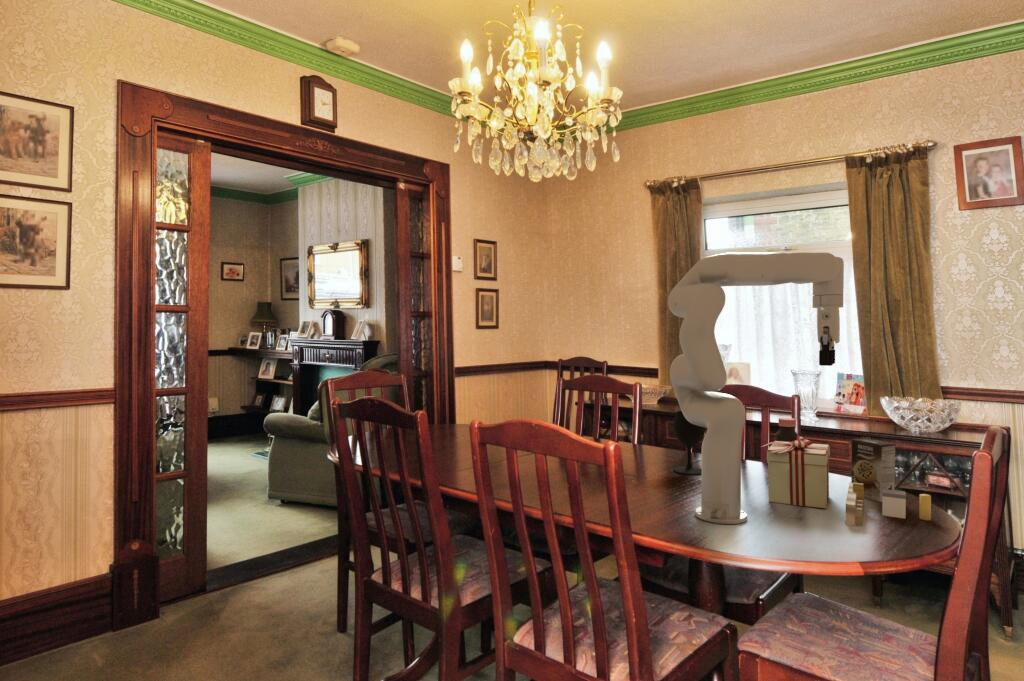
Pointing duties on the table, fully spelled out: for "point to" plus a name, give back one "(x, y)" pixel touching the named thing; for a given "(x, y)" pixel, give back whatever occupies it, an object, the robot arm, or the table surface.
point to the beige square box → (894, 503)
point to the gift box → (798, 473)
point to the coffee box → (873, 466)
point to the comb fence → (854, 504)
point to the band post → (925, 507)
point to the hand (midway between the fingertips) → (827, 364)
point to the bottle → (786, 430)
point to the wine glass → (687, 440)
